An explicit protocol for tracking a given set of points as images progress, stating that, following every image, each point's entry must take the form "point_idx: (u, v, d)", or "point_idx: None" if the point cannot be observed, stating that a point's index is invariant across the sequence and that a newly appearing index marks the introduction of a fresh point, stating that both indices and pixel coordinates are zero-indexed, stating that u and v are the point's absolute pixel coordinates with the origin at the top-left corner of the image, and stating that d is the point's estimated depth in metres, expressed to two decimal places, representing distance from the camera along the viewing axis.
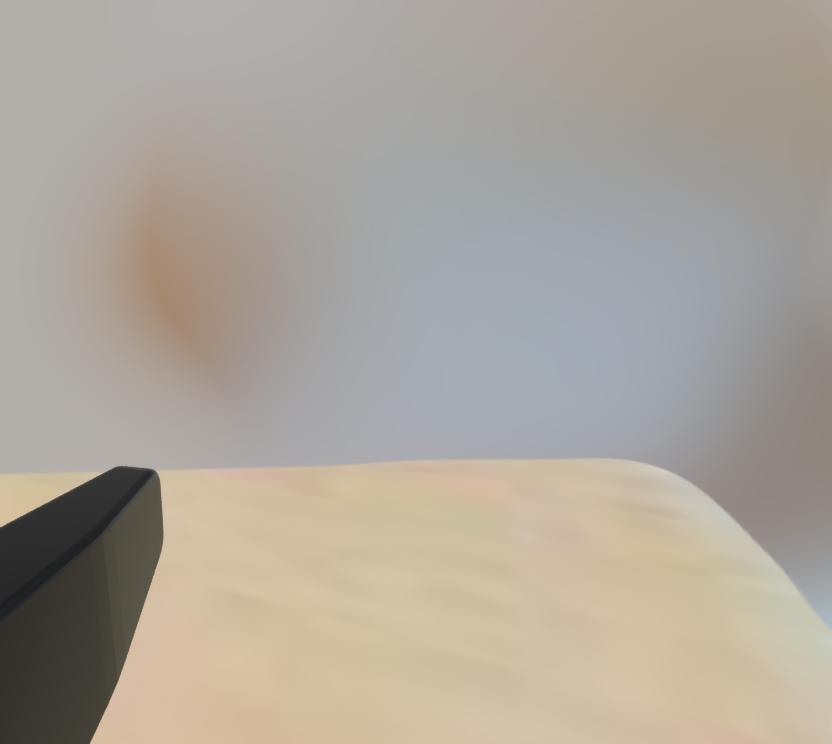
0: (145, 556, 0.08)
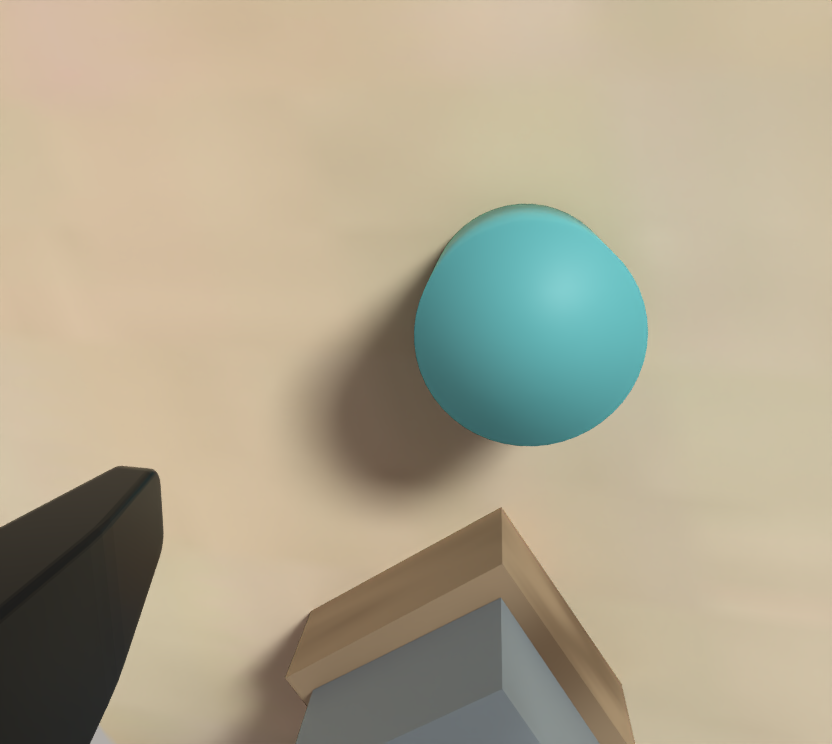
0: (145, 556, 0.08)
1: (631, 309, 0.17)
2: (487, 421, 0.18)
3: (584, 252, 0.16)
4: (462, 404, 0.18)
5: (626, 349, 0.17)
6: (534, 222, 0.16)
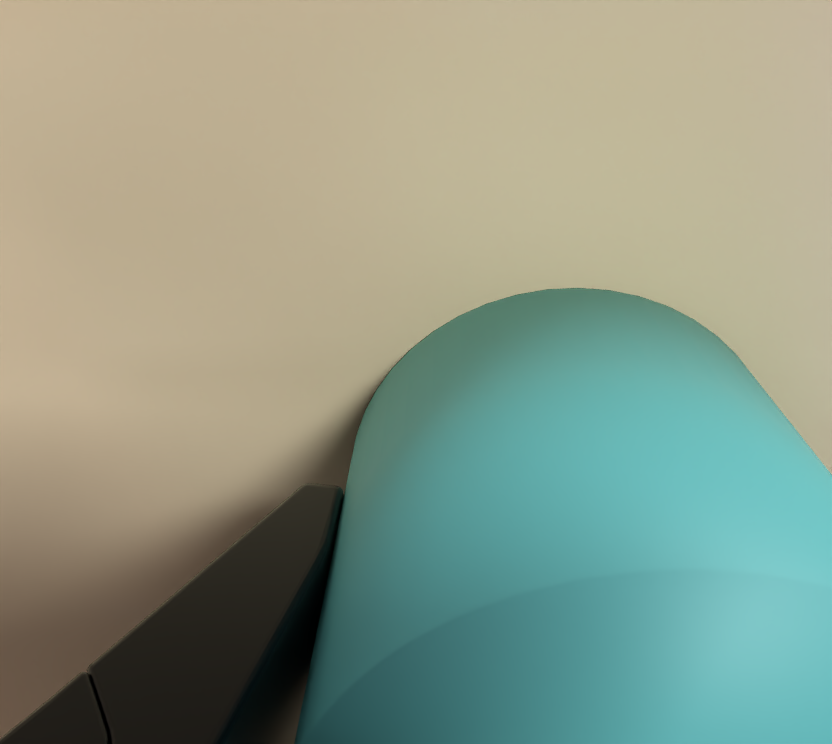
0: None
1: None
2: None
3: None
4: None
5: None
6: (677, 571, 0.04)
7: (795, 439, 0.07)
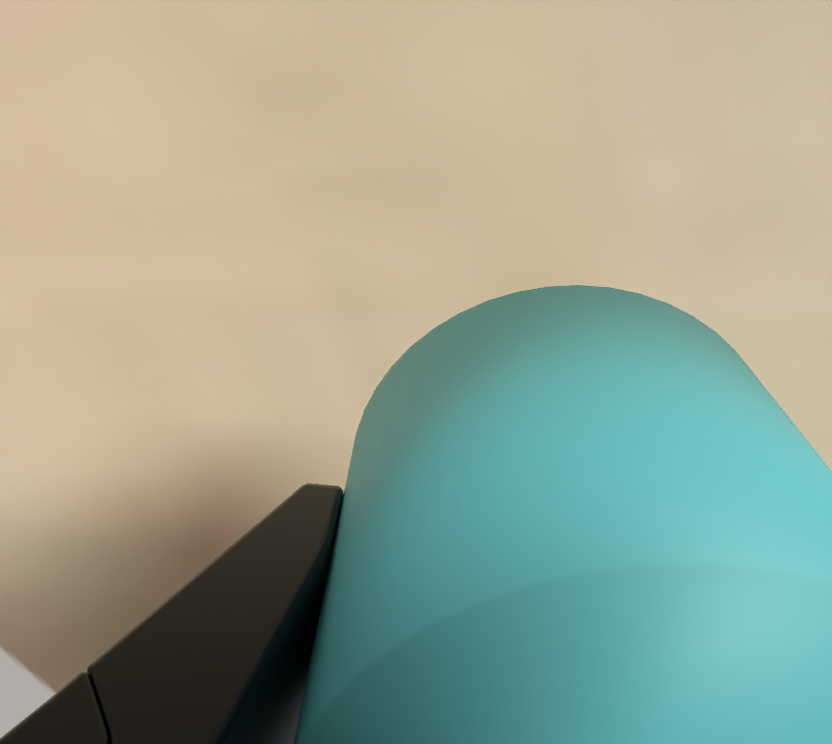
0: None
1: None
2: None
3: None
4: None
5: None
6: (677, 566, 0.04)
7: (795, 436, 0.07)
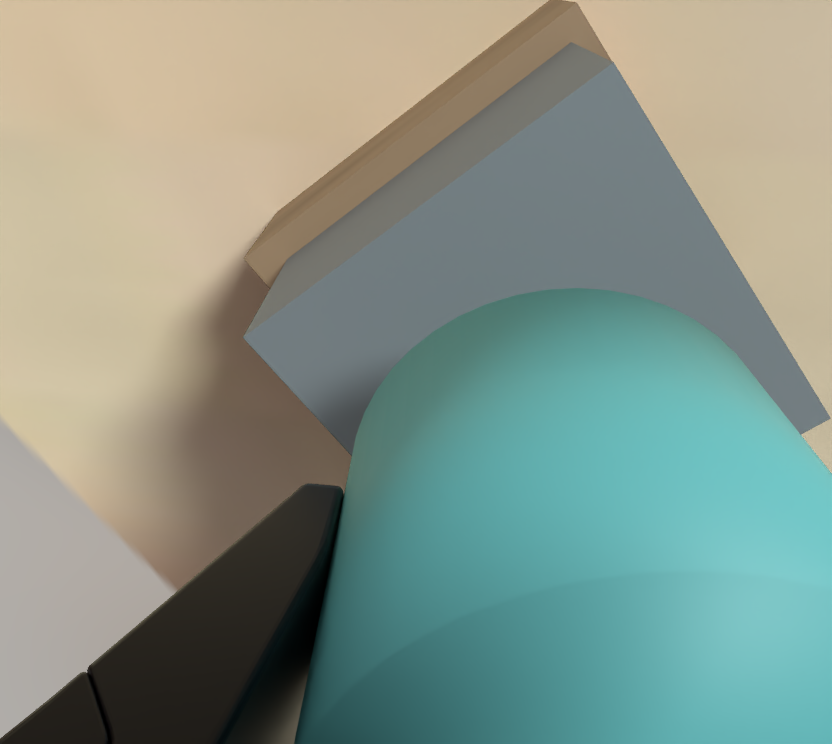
0: None
1: None
2: None
3: None
4: None
5: None
6: (678, 573, 0.04)
7: (796, 440, 0.06)
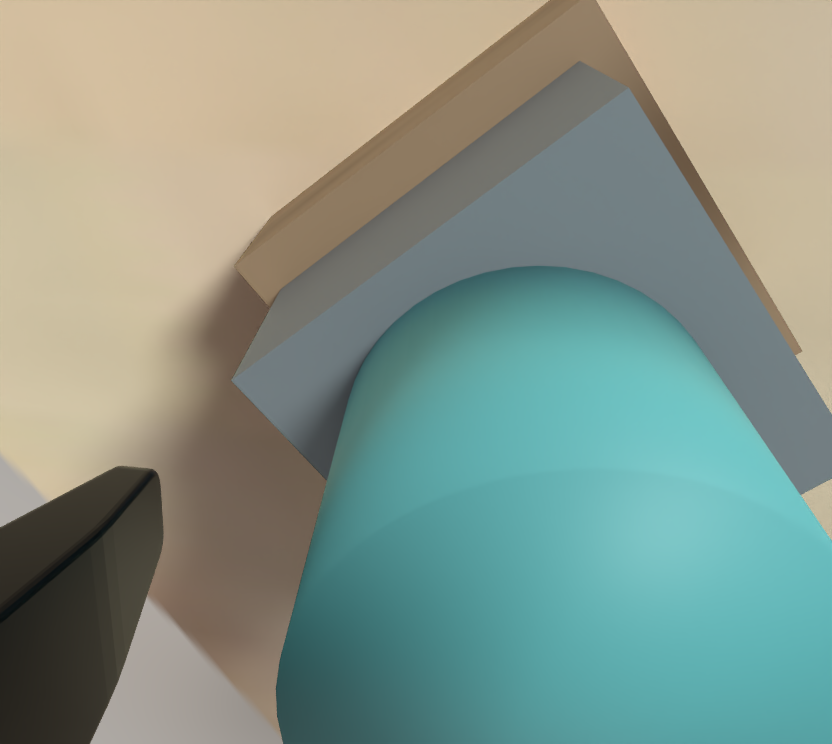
0: (145, 556, 0.08)
1: None
2: None
3: (728, 537, 0.06)
4: None
5: (830, 736, 0.07)
6: (580, 470, 0.06)
7: (712, 386, 0.08)
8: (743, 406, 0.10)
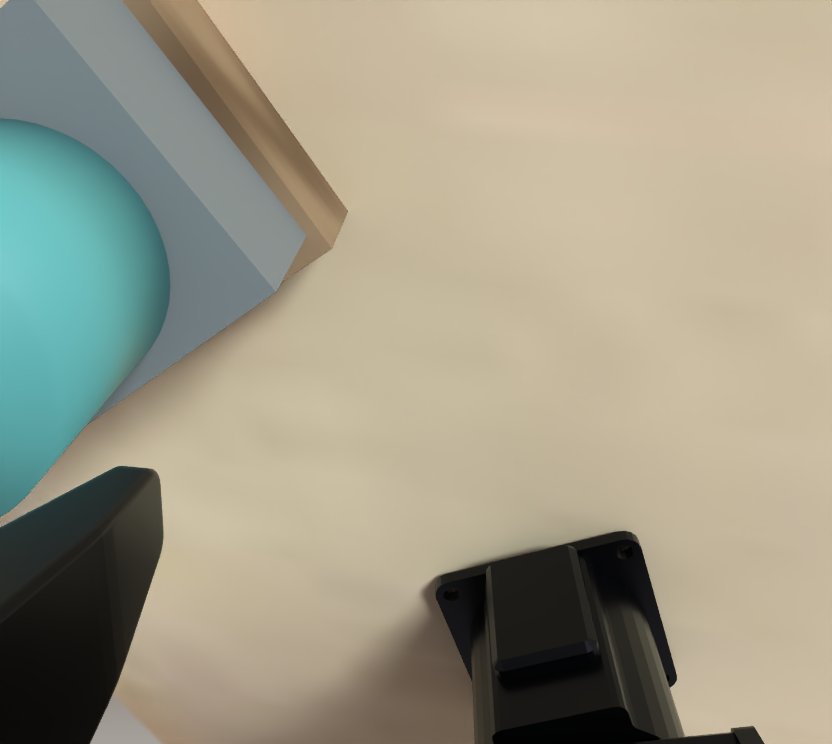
0: (145, 556, 0.08)
1: (5, 323, 0.10)
2: None
3: None
4: None
5: (21, 386, 0.10)
6: None
7: (27, 179, 0.11)
8: (174, 243, 0.14)
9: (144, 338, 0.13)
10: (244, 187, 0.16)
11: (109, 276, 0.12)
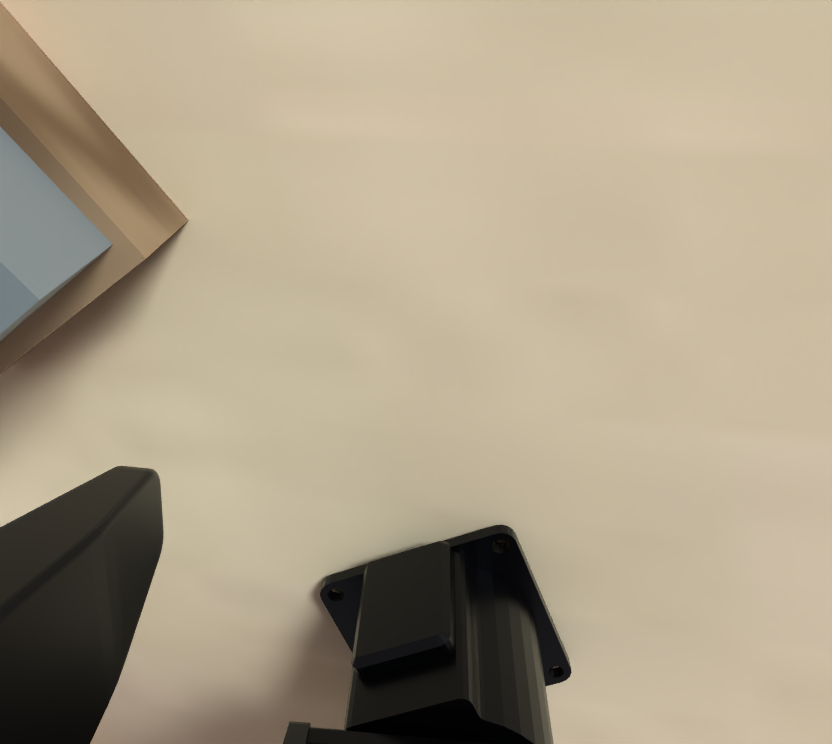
0: (145, 556, 0.08)
1: None
2: None
3: None
4: None
5: None
6: None
7: None
8: None
9: None
10: (29, 199, 0.16)
11: None
